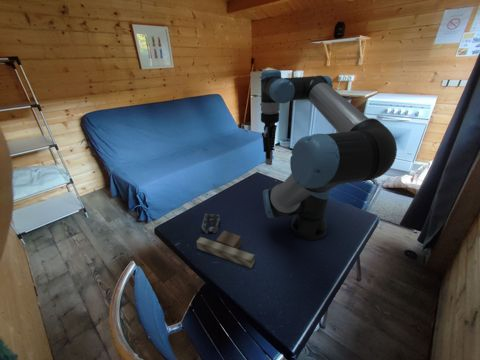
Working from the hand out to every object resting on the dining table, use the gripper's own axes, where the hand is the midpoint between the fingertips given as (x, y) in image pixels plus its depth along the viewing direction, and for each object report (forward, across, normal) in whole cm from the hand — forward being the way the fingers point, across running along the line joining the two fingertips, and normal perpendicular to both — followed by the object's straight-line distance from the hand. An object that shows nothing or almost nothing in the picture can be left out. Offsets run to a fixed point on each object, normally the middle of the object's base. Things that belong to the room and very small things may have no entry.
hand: (268, 164), depth 104 cm
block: (+25, +32, -6) cm, 41 cm away
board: (+24, +36, -5) cm, 44 cm away
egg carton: (+25, +24, -19) cm, 39 cm away
